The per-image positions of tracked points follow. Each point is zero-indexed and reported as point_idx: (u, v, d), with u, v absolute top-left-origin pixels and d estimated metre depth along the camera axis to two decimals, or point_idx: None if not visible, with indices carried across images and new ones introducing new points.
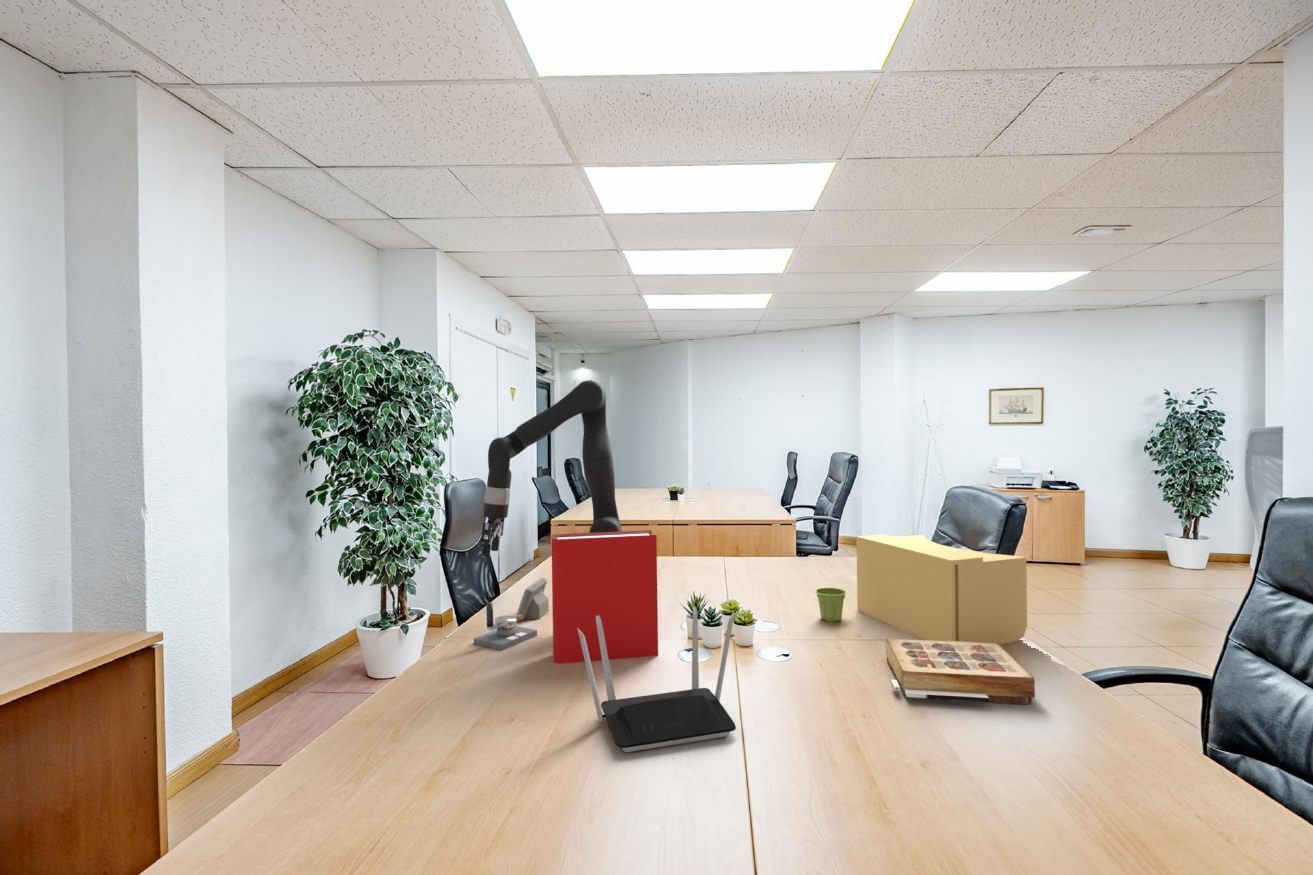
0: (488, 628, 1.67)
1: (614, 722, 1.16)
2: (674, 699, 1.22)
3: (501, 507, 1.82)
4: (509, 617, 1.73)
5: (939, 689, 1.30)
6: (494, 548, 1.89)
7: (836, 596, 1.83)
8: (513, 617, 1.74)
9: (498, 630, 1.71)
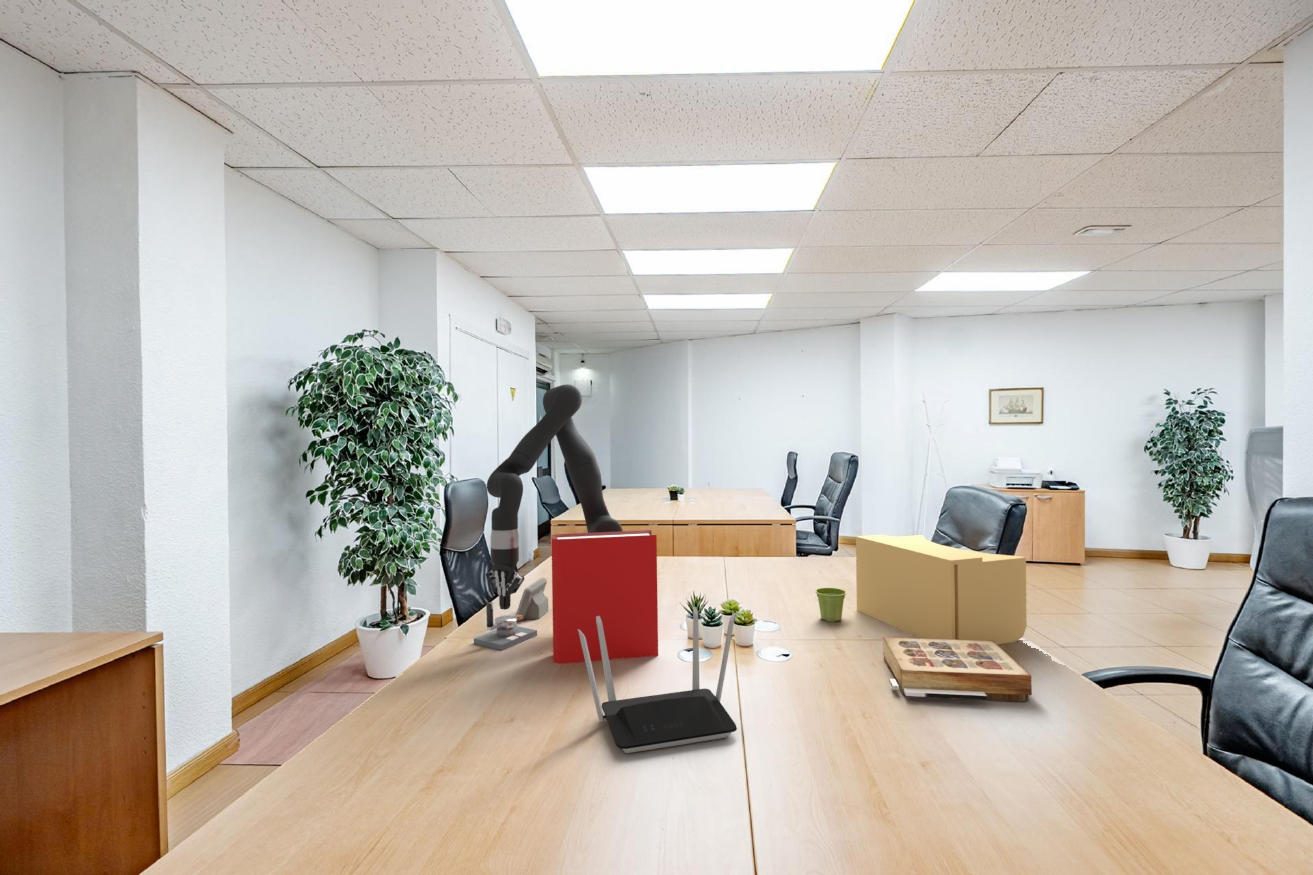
0: (488, 628, 1.67)
1: (614, 722, 1.16)
2: (675, 700, 1.21)
3: (518, 549, 1.65)
4: (509, 617, 1.73)
5: (937, 687, 1.31)
6: None
7: (836, 596, 1.83)
8: (513, 617, 1.74)
9: (498, 630, 1.71)
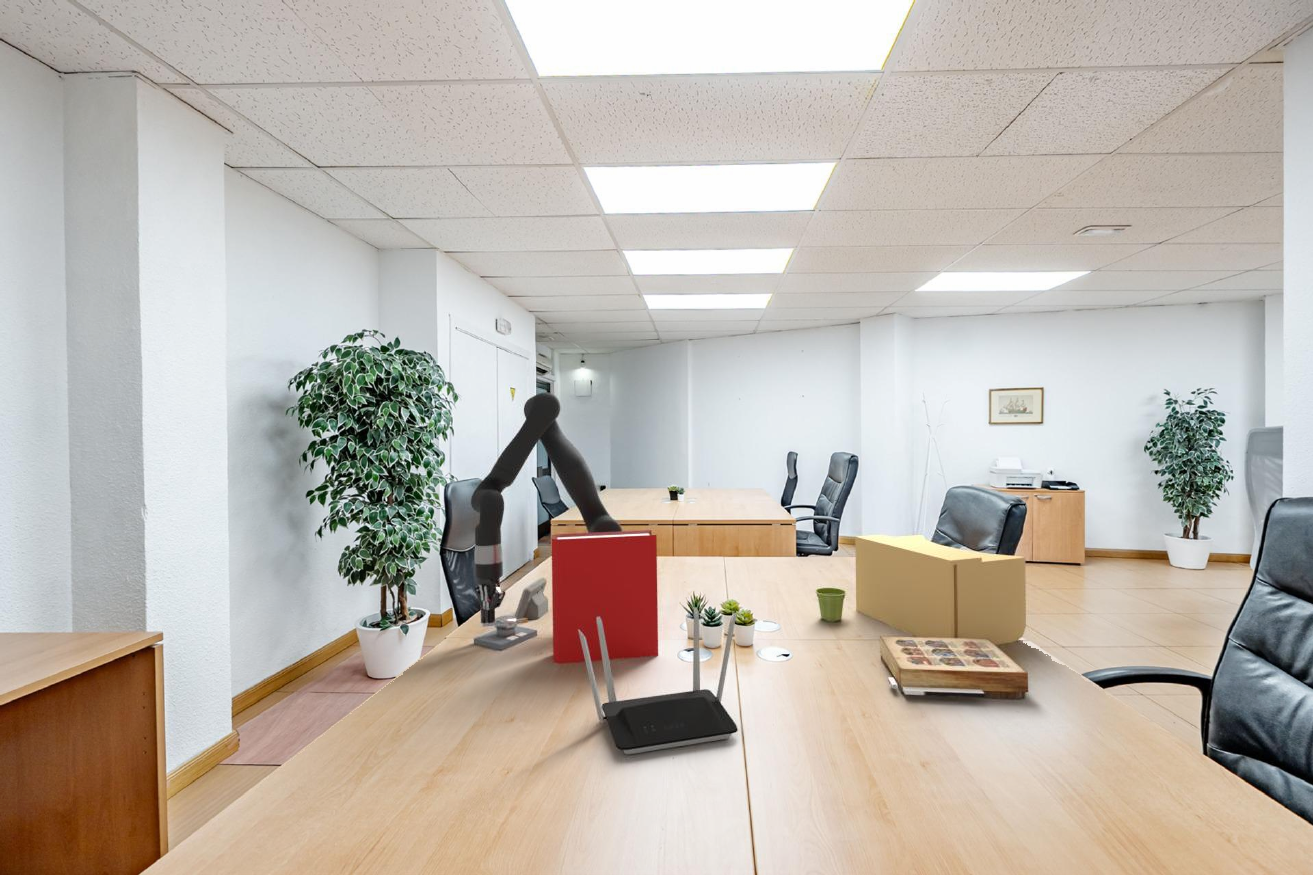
0: None
1: (615, 723, 1.15)
2: (675, 701, 1.21)
3: (502, 564, 1.67)
4: (509, 618, 1.73)
5: (936, 686, 1.32)
6: None
7: (836, 596, 1.83)
8: (512, 619, 1.72)
9: (498, 630, 1.71)
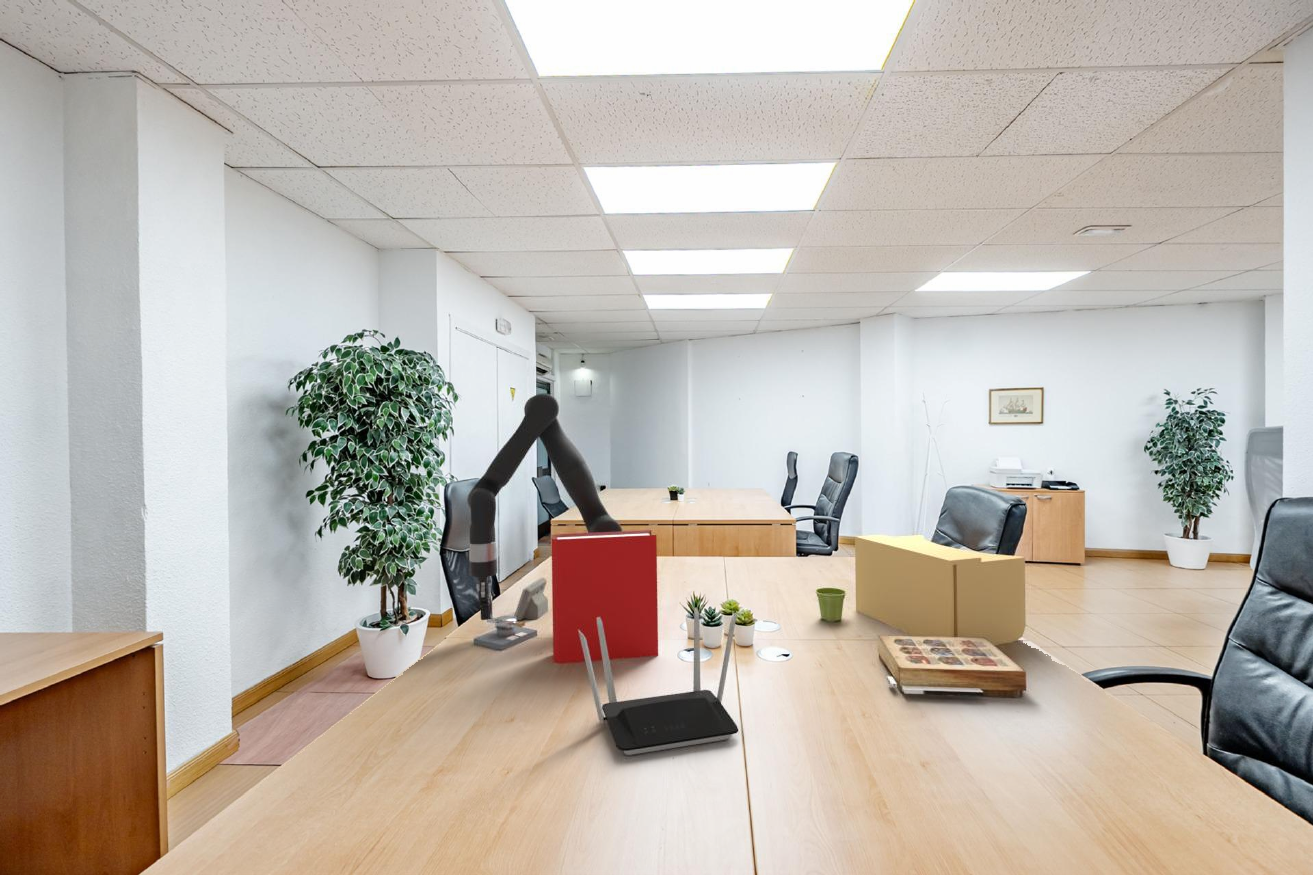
0: None
1: (615, 724, 1.15)
2: (676, 701, 1.21)
3: (492, 563, 1.68)
4: (507, 619, 1.72)
5: (935, 685, 1.32)
6: None
7: (836, 596, 1.83)
8: (508, 620, 1.71)
9: (498, 630, 1.71)
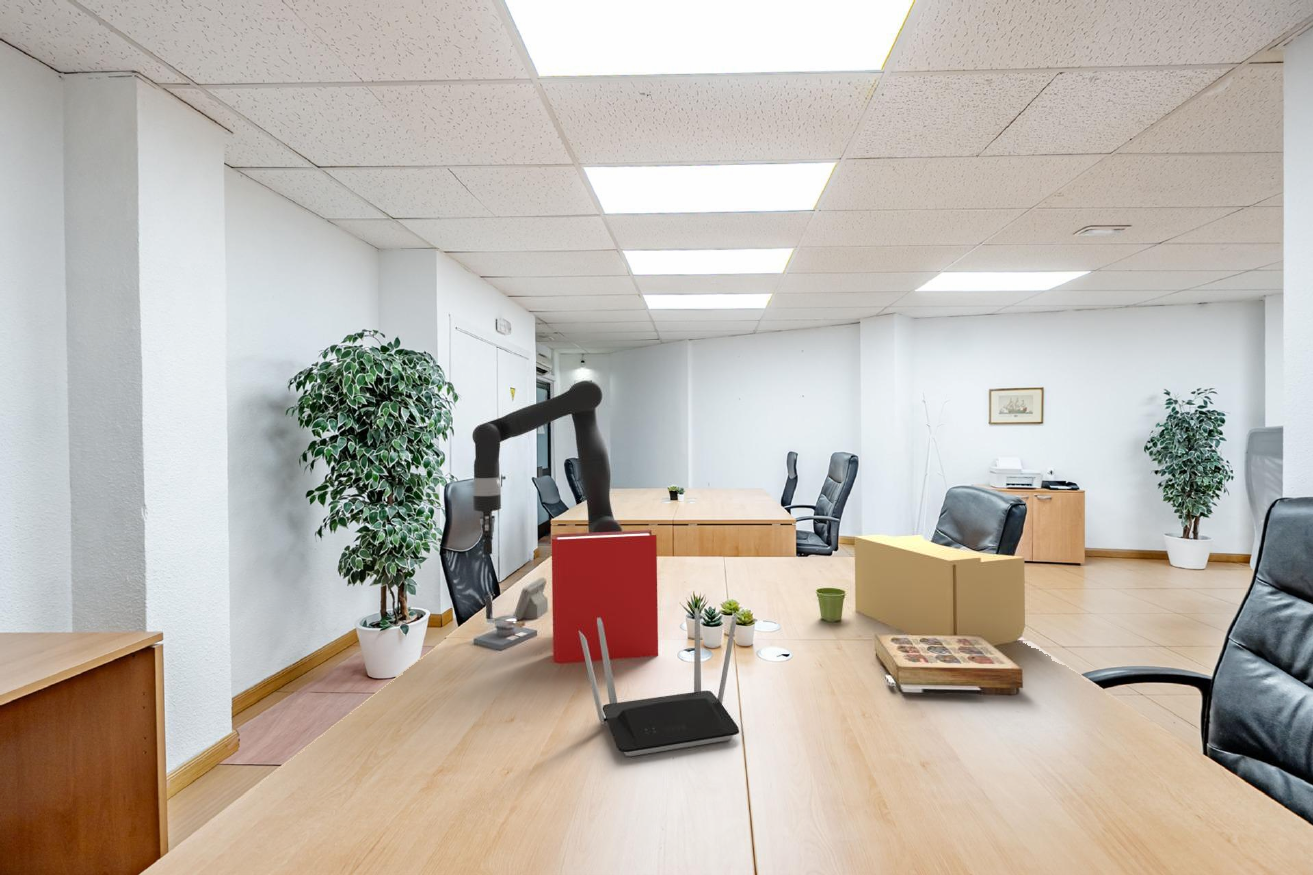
0: None
1: (616, 725, 1.15)
2: (676, 702, 1.20)
3: (495, 498, 1.69)
4: (507, 619, 1.72)
5: (933, 683, 1.33)
6: None
7: (836, 596, 1.83)
8: (508, 620, 1.71)
9: (498, 630, 1.71)
